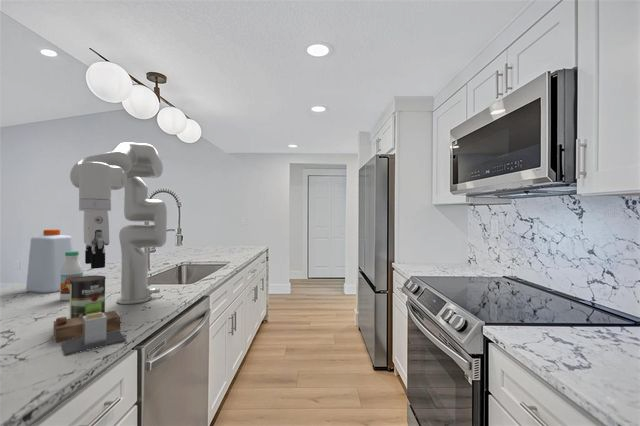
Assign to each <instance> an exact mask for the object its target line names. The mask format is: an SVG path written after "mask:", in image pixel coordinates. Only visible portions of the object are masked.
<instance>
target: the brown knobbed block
mask: <svg viewBox="0 0 640 426" xmlns="http://www.w3.org/2000/svg"><path fill="white" fill-rule="evenodd" d="M104 314H105V316H106V317H107V322H106V333H109V332H114V331H119V330H121V316H120V314H118V313H117V311H116V310H112V311H110V310H109V311H105V312H104ZM108 331H109V332H108ZM82 334H83V316H82V317H76V318H70V317H69V318H67V317H66V316H60V317H57V318H56V319H55V320H54V321H53V337H55V338H54V340H55V343H60V342H59V341H61V342H64V341H63V340H66V341H69V340H68V339H71V340H73V339H72V338H75V339H78V338H77V337H80V338H82Z"/></svg>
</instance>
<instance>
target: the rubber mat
mask: <svg viewBox="0 0 640 426" xmlns="http://www.w3.org/2000/svg"><path fill="white" fill-rule="evenodd" d="M120 342H121V343H125V342H127V339H126V337H125V336H124V335H123V333H122V332H120V330H114V331H109V332H106V341H105V342H101V343H96V344H92V345H88V346H85V345H84V343H83V341H82V338H76V339H71V340H67V341H62V342H61V347H62V350H63V353H64V356H65V357H66V356H70V355H74V354H77V353H76V352H79V353H81V352H80V351H83V352H85V351H84V350H87V349H91V350H93V349H92V348H96V347H100V346H104V347H106V346H105V345H108V346H112V345H111V344H113V345H116V344H115V343H117V344H120ZM100 348H101V347H100ZM96 349H97V348H96ZM87 351H88V350H87ZM73 353H74V354H73Z"/></svg>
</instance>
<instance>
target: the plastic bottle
mask: <svg viewBox="0 0 640 426" xmlns="http://www.w3.org/2000/svg"><path fill="white" fill-rule="evenodd" d="M42 233H43V234H42V235H35V236H32V237H31V238H30V245H29V255H28V266H27V275H26V286H25V287H26V288H25V289H26V291H27V292H29V293H39V294H50V293H55V292H60V274H61V269H62V267H63V265H64V263H65V260H66V257H65V252H67V251H74V250H73V238H72V235H69V234H68V235H67V234H66V235H65V234H61V230H60V229H54V228H53V229H43V232H42Z"/></svg>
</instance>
